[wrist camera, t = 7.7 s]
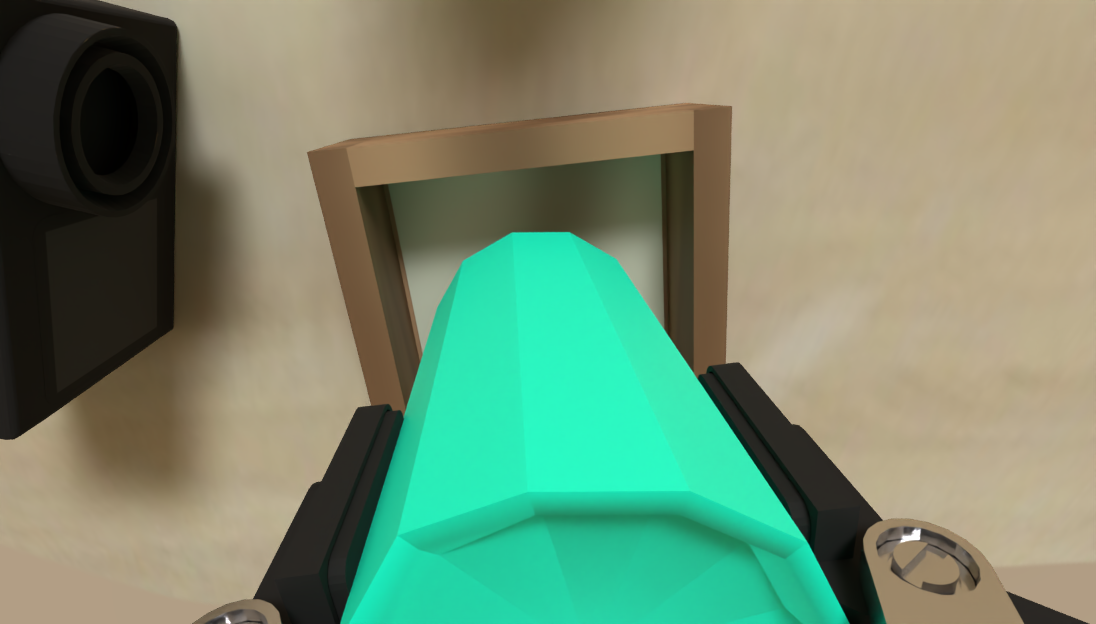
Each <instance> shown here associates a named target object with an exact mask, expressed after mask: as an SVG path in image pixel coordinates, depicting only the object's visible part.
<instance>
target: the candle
mask: <svg viewBox="0 0 1096 624" xmlns="http://www.w3.org/2000/svg"><path fill="white" fill-rule="evenodd" d="M340 624H850V623H849V622H848V620H847V618H846V616H845V614H844V612H843V610H842V608H841V606H840V604H839V602H838V600H837V598H836V596H835V594H834V593H833V591H832V589H831V587H830V585H829V583H828V581H827V579H826V577H825V575H824V573H823V571H822V569H821V567H820V565H819V563H818V562H817V560H816V558H815V556H814V554H813V552H812V550H811V548H810V546H809V544H808V542H807V541H806V539H805V538H804V536H803V535H802V533H801V532H800V530H799V529H798V527H797V526H796V524H795V523H794V522H793V520H792V519H791V517H790V516H789V514H788V513H787V511H786V510H785V508H784V507H783V505H782V504H781V502H780V501H779V499H778V498H777V496H776V495H775V493H774V492H773V490H772V489H771V487H770V486H769V484H768V483H767V481H766V480H765V478H764V477H763V476H762V474H761V473H760V471H759V470H758V468H757V467H756V465H755V464H754V462H753V461H752V459H751V458H750V456H749V455H748V453H747V452H746V450H745V449H744V447H743V446H742V444H741V443H740V441H739V440H738V438H737V437H736V435H735V434H734V432H733V431H732V430H731V428H730V427H729V425H728V424H727V422H726V421H725V419H724V418H723V416H722V415H721V413H720V412H719V410H718V409H717V407H716V406H715V404H714V403H713V401H712V400H711V398H710V397H709V395H708V394H707V392H706V391H705V389H704V388H703V387H702V385H701V384H700V382H699V381H698V379H697V378H696V376H695V375H694V373H693V372H692V370H691V369H690V367H689V366H688V364H687V363H686V361H685V360H684V358H683V357H682V355H681V354H680V352H679V351H678V349H677V348H676V346H675V345H674V343H673V342H672V341H671V339H670V338H669V336H668V335H667V333H666V332H665V330H664V329H663V327H662V326H661V324H660V323H659V321H658V320H657V318H656V317H655V315H654V314H653V312H652V311H651V309H650V308H649V306H648V305H647V303H646V302H645V300H644V299H643V297H642V296H641V295H640V293H639V292H638V290H637V289H636V287H635V286H634V284H633V283H632V281H631V280H630V278H629V277H628V275H627V274H626V272H625V271H624V269H623V268H622V266H621V265H620V263H619V262H618V260H617V259H616V258H614V257H612V256H610V255H609V254H607V253H605V252H603V251H602V250H600V249H598V248H596V247H595V246H593V245H591V244H589V243H588V242H586V241H584V240H582V239H581V238H579V237H577V236H575V235H574V234H572V233H570V232H512V233H510V234H509V235H507V236H505V237H503V238H502V239H500V240H498V241H496V242H495V243H493V244H491V245H489V246H488V247H486V248H484V249H483V250H481V251H479V252H477V253H476V254H474V255H472V256H470V257H469V258H467V259H465V260H463V262H462V264H461V265H460V267H459V269H458V271H457V273H456V274H455V276H454V278H453V280H452V282H451V283H450V285H449V287H448V289H447V291H446V292H445V294H444V296H443V298H442V300H441V301H440V303H439V305H438V307H437V310H436V313H435V316H434V320H433V323H432V326H431V329H430V333H429V336H428V339H427V342H426V346H425V349H424V352H423V355H422V359H421V362H420V365H419V368H418V372H417V375H416V378H415V382H414V385H413V388H412V391H411V395H410V398H409V401H408V404H407V408H406V411H405V414H404V421H403V424H402V427H401V431H400V434H399V437H398V440H397V443H396V447H395V450H394V453H393V456H392V460H391V463H390V466H389V469H388V472H387V476H386V479H385V482H384V485H383V488H382V492H381V495H380V498H379V501H378V505H377V508H376V511H375V514H374V517H373V521H372V524H371V527H370V530H369V534H368V537H367V540H366V543H365V546H364V550H363V553H362V556H361V559H360V562H359V566H358V569H357V572H356V575H355V579H354V582H353V585H352V588H351V591H350V595H349V597H348V600H347V603H346V606H345V609H344V613H343V616H342V619H341V623H340Z"/></svg>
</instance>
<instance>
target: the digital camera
mask: <svg viewBox="0 0 1096 624" xmlns="http://www.w3.org/2000/svg"><path fill="white" fill-rule="evenodd" d="M125 9H126V10H125ZM130 10H131V11H130ZM176 40H177V27H176V24H175V23H174V21H172V20H170V19H168V18H164V17H159V16H155V15H152V14H148V13H144V12H140V11H137V10H133V9H129V8H125V7H121V6H118V5H114V4H110V3H106V2H103V1H99V0H0V439H5V440H10V439H15V438H18V437H19V436H21V435H22V434H24V433H25V432H27V431H28V430H30V429H31V428H33V427H34V426H36V425H37V424H39V423H40V422H42V421H43V420H45V419H46V418H47V417H49V416H50V415H52V414H53V413H55V412H56V411H57V410H59V409H60V408H62V407H63V406H64V405H66V404H67V403H69V402H70V401H71V400H73V399H74V398H76V397H77V396H79V395H80V394H81V393H83V392H84V391H86V390H87V389H88V388H90V387H91V386H93V385H94V384H95V383H97V382H98V381H100V380H101V379H103V378H104V377H105V376H107V375H108V374H110V373H111V372H112V371H114V370H115V369H117V368H118V367H119V366H121V365H122V364H124V363H125V362H126V361H128V360H129V359H131V358H132V357H134V356H135V355H136V354H138V353H139V352H141V351H142V350H143V349H145V348H146V347H148V346H149V345H150V344H152V343H153V342H155V341H156V340H158V339H159V338H160V337H162V336H163V335H165V334H166V333H167V332H169V331H170V330H172V329H173V308H174V225H175V139H176Z"/></svg>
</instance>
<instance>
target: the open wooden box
mask: <svg viewBox="0 0 1096 624" xmlns="http://www.w3.org/2000/svg"><path fill="white" fill-rule="evenodd" d="M731 125H732V106H720V105H706V104H693V103H683V104H674V105H664V106H655V107H646V108H637V109H627V110H618V111H609V112H599V113H590V114H581V115H572V116H562V117H553V118H544V119H534V120H525V121H516V122H507V123H497V124H488V125H479V126H469V127H460V128H451V129H442V130H432V131H423V132H414V133H404V134H395V135H386V136H377V137H367V138H358V139H349V140H346V141H343V142H339V143H336V144H333V145H329V146H326V147H323V148H319V149H316V150H313V151H309V152H307V154H308V158H309V162H310V166H311V170H312V174H313V178H314V182H315V186H316V189H317V193H318V197H319V201H320V205H321V209H322V213H323V217H324V221H325V225H326V229H327V233H328V237H329V241H330V245H331V249H332V253H333V256H334V260H335V264H336V268H337V272H338V276H339V280H340V284H341V288H342V292H343V296H344V300H345V304H346V308H347V312H348V316H349V319H350V323H351V327H352V331H353V335H354V339H355V343H356V347H357V351H358V355H359V359H360V363H361V367H362V371H363V375H364V379H365V383H366V386H367V390H368V394H369V398H370V402H371V406H373V405H382V404H389V405H390V406H391V408H392V410H393V411H395V410H400V411H401V412H402V414H403V417H404V414H405V411H406V408H407V404H408V401H409V398H410V395H411V391H412V388H413V385H414V382H415V378H416V375H417V372H418V368H419V365H420V362H421V359H422V355H423V352H424V349H425V346H426V342H427V339H428V336H429V333H430V329H431V326H432V323H433V320H434V316H435V313H436V310H437V307H438V305H439V303H440V301H441V300H442V298H443V296H444V294H445V292H446V291H447V289H448V287H449V285H450V283H451V282H452V280H453V278H454V276H455V274H456V273H457V271H458V269H459V267H460V265H461V264H462V262H463V260H465V259H467V258H469V257H470V256H472V255H474V254H476V253H477V252H479V251H481V250H483V249H484V248H486V247H488V246H489V245H491V244H493V243H495V242H496V241H498V240H500V239H502V238H503V237H505V236H507V235H509V234H510V233H512V232H570V233H572V234H574V235H575V236H577V237H579V238H581V239H582V240H584V241H586V242H588V243H589V244H591V245H593V246H595V247H596V248H598V249H600V250H602V251H603V252H605V253H607V254H609V255H610V256H612V257H614V258H616V259H617V260H618V262H619V263H620V265H621V266H622V268H623V269H624V271H625V272H626V274H627V275H628V277H629V278H630V280H631V281H632V283H633V284H634V286H635V287H636V289H637V290H638V292H639V293H640V295H641V296H642V297H643V299H644V300H645V302H646V303H647V305H648V306H649V308H650V309H651V311H652V312H653V314H654V315H655V317H656V318H657V320H658V321H659V323H660V324H661V326H662V327H663V329H664V330H665V332H666V333H667V335H668V336H669V338H670V339H671V341H672V342H673V343H674V345H675V346H676V348H677V349H678V351H679V352H680V354H681V355H682V357H683V358H684V360H685V361H686V363H687V364H688V366H689V367H690V369H691V370H692V372H693V373H694V375H695V376H696V378H697V379H698V376H699V374H706V371H707V368H708V366H711V365H720V364H726V328H727V287H728V247H729V206H730V166H731Z"/></svg>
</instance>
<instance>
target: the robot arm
mask: <svg viewBox="0 0 1096 624" xmlns="http://www.w3.org/2000/svg"><path fill="white" fill-rule="evenodd" d="M698 381H699V382H700V384H701V385H702V387H703V388H704V389H705V391H706V392H707V394H708V395H709V397H710V398H711V400H712V401H713V403H714V404H715V406H716V407H717V409H718V410H719V412H720V413H721V415H722V416H723V418H724V419H725V421H726V422H727V424H728V425H729V427H730V428H731V430H732V431H733V432H734V434H735V435H736V437H737V438H738V440H739V441H740V443H741V444H742V446H743V447H744V449H745V450H746V452H747V453H748V455H749V456H750V458H751V459H752V461H753V462H754V464H755V465H756V467H757V468H758V470H759V471H760V473H761V474H762V476H763V477H764V478H765V480H766V481H767V483H768V484H769V486H770V487H771V489H772V490H773V492H774V493H775V495H776V496H777V498H778V499H779V501H780V502H781V504H782V505H783V507H784V508H785V510H786V511H787V513H788V514H789V516H790V517H791V519H792V520H793V522H794V523H795V524H796V526H797V527H798V529H799V530H800V532H801V533H802V535H803V536H804V538H805V539H806V541H807V542H808V544H809V546H810V548H811V550H812V552H813V554H814V556H815V558H816V560H817V562H818V563H819V565H820V567H821V569H822V571H823V573H824V575H825V577H826V579H827V581H828V583H829V585H830V587H831V589H832V591H833V593H834V594H835V596H836V598H837V600H838V602H839V604H840V606H841V608H842V610H843V612H844V614H845V616H846V618H847V620H848V622H849V623H850V624H1088V623H1086V622H1083V621H1081V620H1078V619H1076V618H1073V617H1071V616H1068V615H1066V614H1063V613H1060V612H1058V611H1055V610H1053V609H1050V608H1047V607H1045V606H1043V605H1040V604H1038V603H1035V602H1033V601H1030V600H1027V599H1025V598H1022V597H1020V596H1017V595H1014V594H1012V593H1010V592H1007V591H1006V590H1005V589H1004V587H1003V585H1002V583H1001V581H1000V580H999V578H998V576H997V574H996V572H995V571H994V569H993V567H992V565H991V564H990V563H989V562H988V560H987V559H986V558H985V556H984V555H983V554H982V553H981V552H980V551H979V550H978V549H977V548H975V547H974V546H973V545H972V544H971V543H969V542H968V541H967V540H966V539H964V538H962V537H960V536H958V535H957V534H955V533H953V532H951V531H949V530H948V529H945V528H942V527H940V526H937V525H934V524H931V523H929V522H924V521H919V520H914V519H888V520H884V521H883V520H882V519H881V518H880V516H879V515H878V514H877V513H876V512H875V511H874V510H873V508H872V507H871V506H870V505H869V504H868V503H867V501H866V500H865V499H864V498H863V497H862V496H861V495H860V493H859V492H858V491H857V490H856V489H855V488H854V486H853V485H852V484H851V483H850V482H849V481H848V480H847V478H846V477H845V476H844V475H843V474H842V473H841V471H840V470H839V469H838V468H837V467H836V466H835V465H834V463H833V462H832V461H831V460H830V459H829V458H828V456H827V455H826V454H825V453H824V452H823V451H822V450H821V448H820V447H819V446H818V445H817V444H816V443H815V442H814V440H813V439H812V438H811V437H810V436H809V435H808V433H807V432H806V431H805V430H804V429H803V428H802V427H800V426H799V425H795V424H791V423H790V422H789V421H788V419H787V418H786V417H785V416H784V415H783V414H782V412H781V411H780V410H779V409H778V408H777V406H776V405H775V404H774V403H773V402H772V401H771V399H770V398H769V397H768V396H767V395H766V393H765V392H764V391H763V390H762V389H761V387H760V386H759V385H758V384H757V383H756V382H755V380H754V379H753V378H752V377H751V376H750V374H749V373H748V372H747V371H746V370H745V369H744V367H743V366H742V365H741V364H740V363H728V364H720V365H711V366H708V368H707V371H706V374H699V376H698ZM403 421H404V417H403V414H402V412H401V411H400V410H395V411H393V410H392V408H391V406H390V405H389V404H382V405H373V406H365V407H358V408H357V410H356V411H355V413H354V415H353V418H352V420H351V422H350V424H349V426H348V428H347V430H346V432H345V434H344V436H343V438H342V440H341V442H340V444H339V446H338V448H337V450H336V453H335V455H334V457H333V459H332V461H331V463H330V465H329V467H328V469H327V471H326V473H325V475H324V477H323V479H322V481H321V482H316V483H314V484H312V486H311V487H310V489H309V490H308V492H307V494H306V496H305V498H304V500H303V502H302V504H301V505H300V507H299V509H298V511H297V513H296V515H295V517H294V519H293V521H292V523H291V525H290V527H289V529H288V531H287V533H286V535H285V537H284V539H283V541H282V543H281V545H280V547H279V549H278V551H277V553H276V555H275V557H274V559H273V561H272V563H271V565H270V567H269V568H268V570H267V572H266V574H265V576H264V578H263V580H262V582H261V584H260V586H259V588H258V590H257V592H256V594H255V596H254V598H253V599H248V600H241V601H237V602H233V603H229V604H226V605H224V606H222V607H219V608H217V609H215V610H213V611H211V612H209V613H207V614H206V615H204V616H203V617H201V618H200V619H198V620H197V621H195V622H194V623H192V624H340V623H341V619H342V616H343V613H344V609H345V606H346V603H347V600H348V597H349V595H350V591H351V588H352V585H353V582H354V579H355V575H356V572H357V569H358V566H359V562H360V559H361V556H362V553H363V550H364V546H365V543H366V540H367V537H368V534H369V530H370V527H371V524H372V521H373V517H374V514H375V511H376V508H377V505H378V501H379V498H380V495H381V492H382V488H383V485H384V482H385V479H386V476H387V472H388V469H389V466H390V463H391V460H392V456H393V453H394V450H395V447H396V443H397V440H398V437H399V434H400V431H401V427H402V424H403Z"/></svg>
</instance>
